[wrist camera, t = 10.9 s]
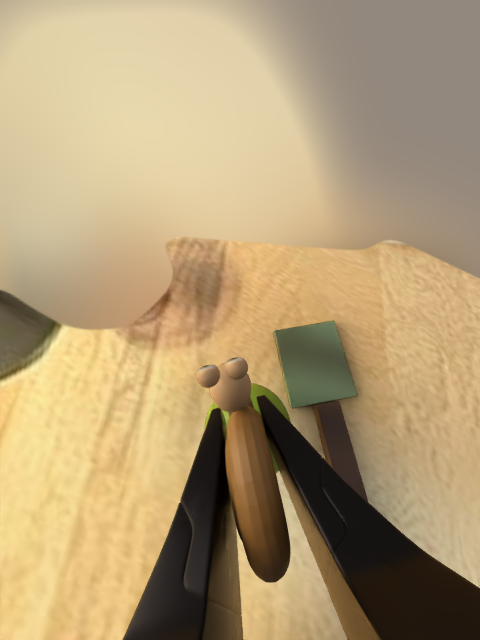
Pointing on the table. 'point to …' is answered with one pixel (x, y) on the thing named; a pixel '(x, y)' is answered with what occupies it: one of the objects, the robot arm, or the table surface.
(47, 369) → the table surface
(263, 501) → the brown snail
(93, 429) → the table surface
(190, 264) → the table surface
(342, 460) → the spatula
